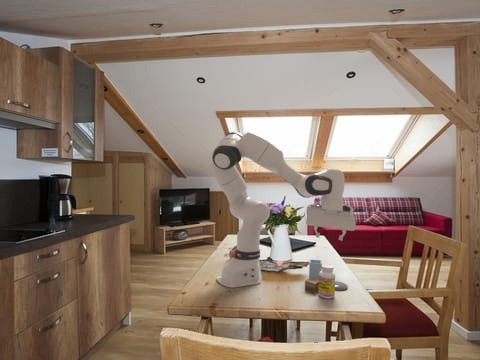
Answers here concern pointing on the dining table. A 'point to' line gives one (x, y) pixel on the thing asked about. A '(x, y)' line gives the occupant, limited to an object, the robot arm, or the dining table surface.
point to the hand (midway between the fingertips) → (329, 238)
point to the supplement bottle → (327, 282)
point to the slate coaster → (340, 286)
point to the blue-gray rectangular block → (315, 268)
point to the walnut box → (312, 285)
